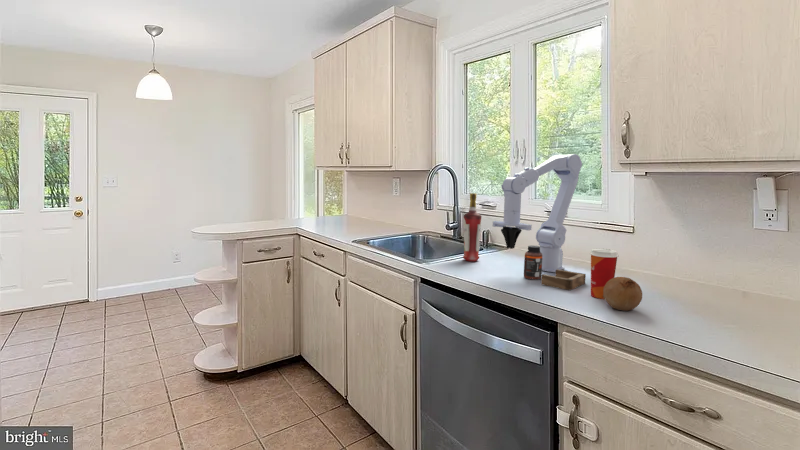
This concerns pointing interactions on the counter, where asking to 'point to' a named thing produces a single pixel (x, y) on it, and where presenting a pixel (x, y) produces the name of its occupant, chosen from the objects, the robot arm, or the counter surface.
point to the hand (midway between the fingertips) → (510, 248)
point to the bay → (564, 279)
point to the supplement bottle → (533, 263)
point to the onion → (622, 293)
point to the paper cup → (602, 270)
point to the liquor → (472, 231)
